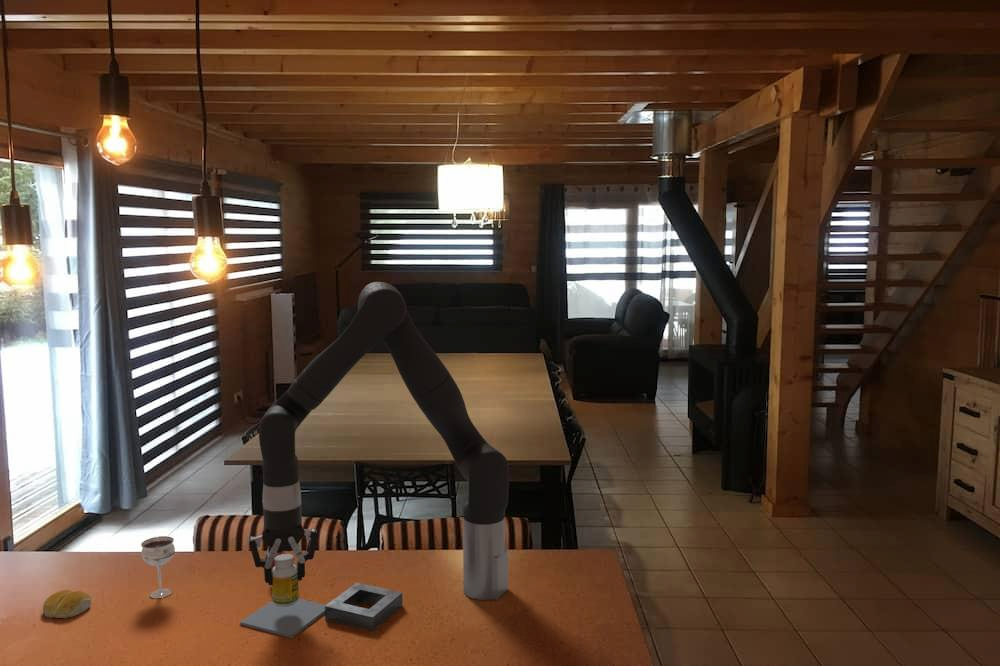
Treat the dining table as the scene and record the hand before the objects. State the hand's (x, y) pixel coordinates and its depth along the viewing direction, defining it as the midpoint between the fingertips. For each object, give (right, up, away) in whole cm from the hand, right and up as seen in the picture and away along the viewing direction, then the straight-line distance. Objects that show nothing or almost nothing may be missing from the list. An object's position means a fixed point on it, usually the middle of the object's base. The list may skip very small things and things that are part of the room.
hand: (285, 581), depth 162 cm
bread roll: (-47, -8, +4) cm, 48 cm away
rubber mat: (0, -8, +1) cm, 8 cm away
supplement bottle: (0, -5, +1) cm, 5 cm away
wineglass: (-31, -7, +11) cm, 33 cm away
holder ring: (+16, -8, +3) cm, 18 cm away
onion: (-5, -6, +16) cm, 18 cm away
